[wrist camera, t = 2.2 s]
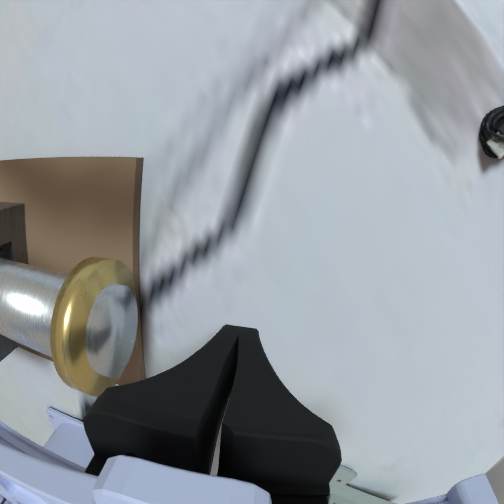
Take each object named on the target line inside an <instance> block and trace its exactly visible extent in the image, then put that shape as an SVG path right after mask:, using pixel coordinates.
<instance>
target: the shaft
mask: <svg viewBox="0 0 504 504" xmlns="http://www.w3.org/2000/svg"><path fill="white" fill-rule="evenodd" d="M137 324H138V309H137V299H136V289H135V284H134V280H133V277H132V274H131V272H130V270H129V269H128V267H127V266H126V265H125V264H124V263H123V262H121V261H119V260H114V259H108V258H102V257H89V258H87V259H84V260H83V261H81V262H80V263H79V264H77V265H76V266H75V267H74V268H73V270H72V271H71V272H70V273H69V274H66V273H62V272H57V271H53V270H49V269H45V268H40V267H36V266H32V265H28V264H24V263H20V262H16V261H12V260H8V259H4V258H1V257H0V334H1V335H3V336H5V337H7V338H9V339H11V340H14V341H16V342H18V343H20V344H22V345H24V346H27V347H29V348H31V349H33V350H36V351H38V352H41V353H43V354H45V355H48V356H50V357H52V358H53V362H54V365H55V368H56V371H57V373H58V375H59V376H60V378H61V379H62V381H63V382H64V383H65V384H66V385H68V386H69V387H71V388H73V389H76V390H78V391H81V392H84V393H86V394H89V395H92V396H100V395H101V394H102V393H103V392H104V391H105V389H106V388H108V387H114V386H115V385H116V383H117V382H118V380H119V379H120V377H121V375H122V373H123V371H124V369H125V367H126V365H127V363H128V361H129V359H130V356H131V354H132V351H133V347H134V344H135V339H136V333H137Z"/></svg>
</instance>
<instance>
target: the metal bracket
mask: <svg viewBox="0 0 504 504" xmlns="http://www.w3.org/2000/svg"><path fill="white" fill-rule="evenodd" d="M356 476H357V472H355V471H353V470H350V469H348V468H346V467H344V466H342V465H340V466H339V468H338V470H337V471H336V473H335V475H334V476H333V478H332V480H331V481H330V483H329V485H330V495H329V496H327V498H328V504H396V503H393V502H390V501H387V500H384V499H381V498H378V497H375V496H373V495H370V494H367V493H365V492H362V491H360V490H357V489H355V488H352V487H350V486H347V485H346V484H347V483H348V482H349V481H351V480H352V479H353V478H355V477H356ZM338 480H340V481H338Z"/></svg>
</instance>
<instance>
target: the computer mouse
mask: <svg viewBox="0 0 504 504" xmlns="http://www.w3.org/2000/svg"><path fill="white" fill-rule="evenodd" d="M479 138H480V141H481V143H482V147H483V150H484V152H485V153H486V154H487V155H488V156H489V157H493V158H498V159H499V160H500V159H502V158H503V157H504V106H501V107H498V108H495V109H494V110H492V111H490V112H489V113H488V114H486V116H485V117H484V119H483V122H482V125H481V129H480V133H479Z"/></svg>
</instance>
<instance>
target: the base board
mask: <svg viewBox="0 0 504 504" xmlns="http://www.w3.org/2000/svg"><path fill="white" fill-rule="evenodd" d="M142 167H143V158H136V157H56V158H33V159H16V160H3V161H0V202H11V203H25V226H26V241H27V252H28V261H29V265H32V266H36V267H40V268H45V269H49V270H53V271H57V272H62V273H66V274H69V273H70V272H71V271H72V270H73V268H74V267H75V266H76V265H77V264H79V263H80V262H81V261H83V260H84V259H87V258H89V257H102V258H108V259H114V260H119V261H121V262H123V263H124V264H125V265H126V266H127V267H128V269H129V270H130V272H131V274H132V277H133V280H134V284H135V289H136V299H137V309H138V324H137V333H136V339H135V344H134V347H133V351H132V354H131V356H130V359H129V361H128V363H127V365H126V367H125V369H124V371H123V373H122V375H121V377H120V379H119V380H118V382H117V383H116V384H119V385H125V384H130V383H134V382H137V381H141V380H144V379H146V377H145V368H144V357H143V345H142V332H141V315H140V290H139V223H140V198H141V181H142ZM19 347H21V348H23V349H25V350H27V351H30V352H32V353H34V354H36V355H39V356H41V357H43V358H46V359H48V360H51V361H53V358H52V357H50V356H48V355H45V354H43V353H41V352H38V351H36V350H33V349H31V348H29V347H27V346H24V345H22V344H20V345H19Z"/></svg>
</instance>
